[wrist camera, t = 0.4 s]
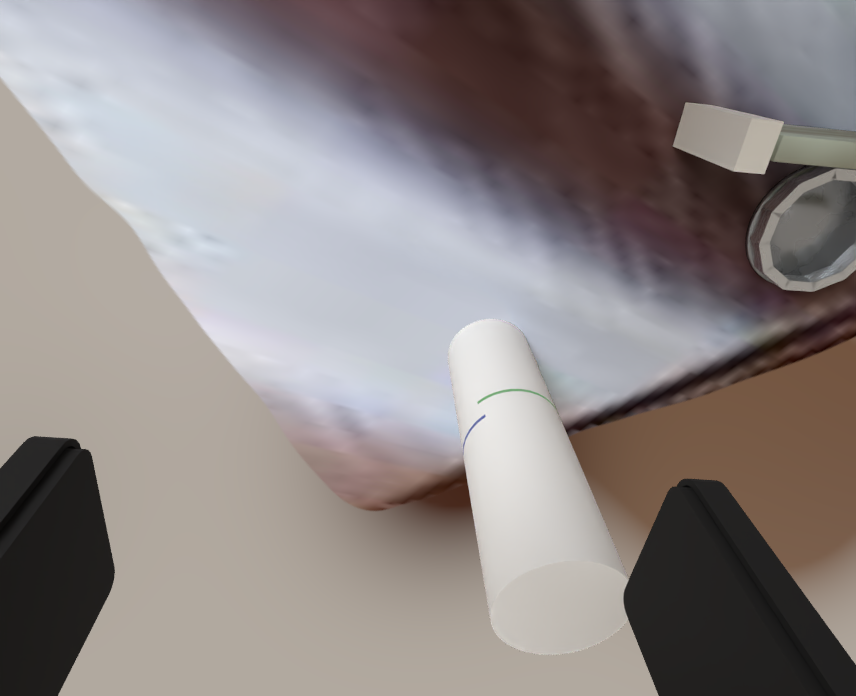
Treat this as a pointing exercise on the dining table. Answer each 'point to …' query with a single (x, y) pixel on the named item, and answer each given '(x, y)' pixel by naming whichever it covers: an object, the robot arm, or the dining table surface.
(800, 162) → the door
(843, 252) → the keeper ring
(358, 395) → the dining table surface
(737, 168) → the cream bar pieces
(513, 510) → the cylindrical container
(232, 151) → the dining table surface
